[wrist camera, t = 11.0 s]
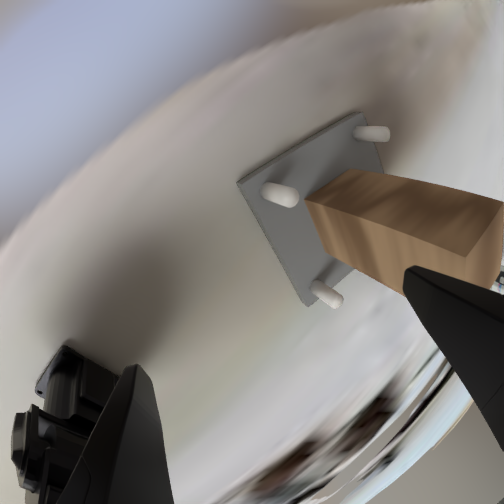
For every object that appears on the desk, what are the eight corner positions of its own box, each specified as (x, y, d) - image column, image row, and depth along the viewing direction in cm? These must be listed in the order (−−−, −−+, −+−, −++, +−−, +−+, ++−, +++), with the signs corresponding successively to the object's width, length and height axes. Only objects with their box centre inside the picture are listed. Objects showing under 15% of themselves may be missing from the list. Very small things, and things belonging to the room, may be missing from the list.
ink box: (486, 281, 46) (529, 303, 36) (476, 300, 46) (519, 323, 36) (485, 256, 42) (534, 278, 32) (474, 276, 42) (524, 301, 31)
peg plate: (302, 302, 25) (328, 324, 22) (236, 182, 20) (261, 190, 16) (391, 226, 27) (421, 237, 24) (354, 112, 22) (389, 110, 18)
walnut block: (325, 252, 23) (461, 329, 12) (303, 199, 21) (465, 257, 10) (366, 220, 24) (499, 273, 13) (350, 168, 22) (503, 202, 11)
